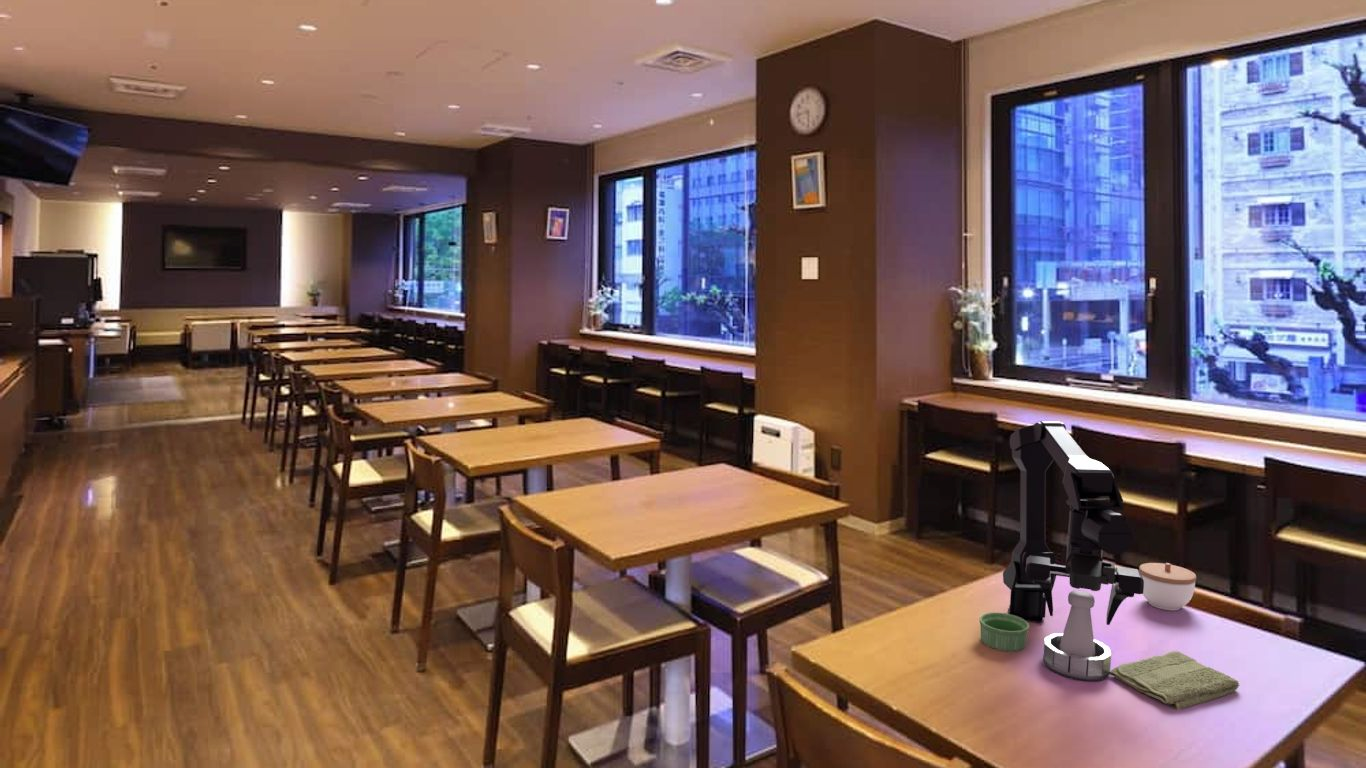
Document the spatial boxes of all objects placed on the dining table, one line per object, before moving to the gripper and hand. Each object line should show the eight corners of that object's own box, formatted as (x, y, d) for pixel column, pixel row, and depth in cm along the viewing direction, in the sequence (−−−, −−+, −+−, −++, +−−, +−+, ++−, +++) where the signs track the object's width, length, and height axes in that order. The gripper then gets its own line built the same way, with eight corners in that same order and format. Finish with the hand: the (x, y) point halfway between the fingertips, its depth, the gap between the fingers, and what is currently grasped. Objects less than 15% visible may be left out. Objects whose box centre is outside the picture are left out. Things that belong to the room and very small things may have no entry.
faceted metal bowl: (1043, 674, 145) (1044, 652, 145) (1042, 649, 155) (1043, 629, 155) (1112, 686, 141) (1114, 664, 140) (1106, 660, 151) (1108, 639, 150)
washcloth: (1104, 678, 145) (1105, 661, 144) (1175, 662, 151) (1176, 646, 151) (1172, 714, 133) (1173, 696, 132) (1245, 696, 139) (1247, 678, 139)
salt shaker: (1087, 656, 150) (1093, 588, 149) (1098, 670, 145) (1105, 599, 143) (1054, 653, 151) (1059, 585, 150) (1064, 667, 145) (1070, 597, 144)
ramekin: (977, 648, 155) (978, 626, 155) (979, 630, 164) (980, 609, 163) (1028, 657, 152) (1029, 634, 151) (1027, 637, 160) (1028, 616, 160)
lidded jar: (1129, 604, 178) (1132, 562, 177) (1146, 592, 185) (1149, 552, 184) (1184, 619, 170) (1188, 576, 169) (1199, 606, 177) (1203, 564, 176)
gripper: (1028, 542, 141) (1023, 627, 143) (1151, 557, 134) (1143, 647, 136) (1028, 524, 151) (1023, 605, 153) (1142, 538, 144) (1135, 622, 146)
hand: (1079, 619), depth 147 cm, fingers open, 9 cm apart
